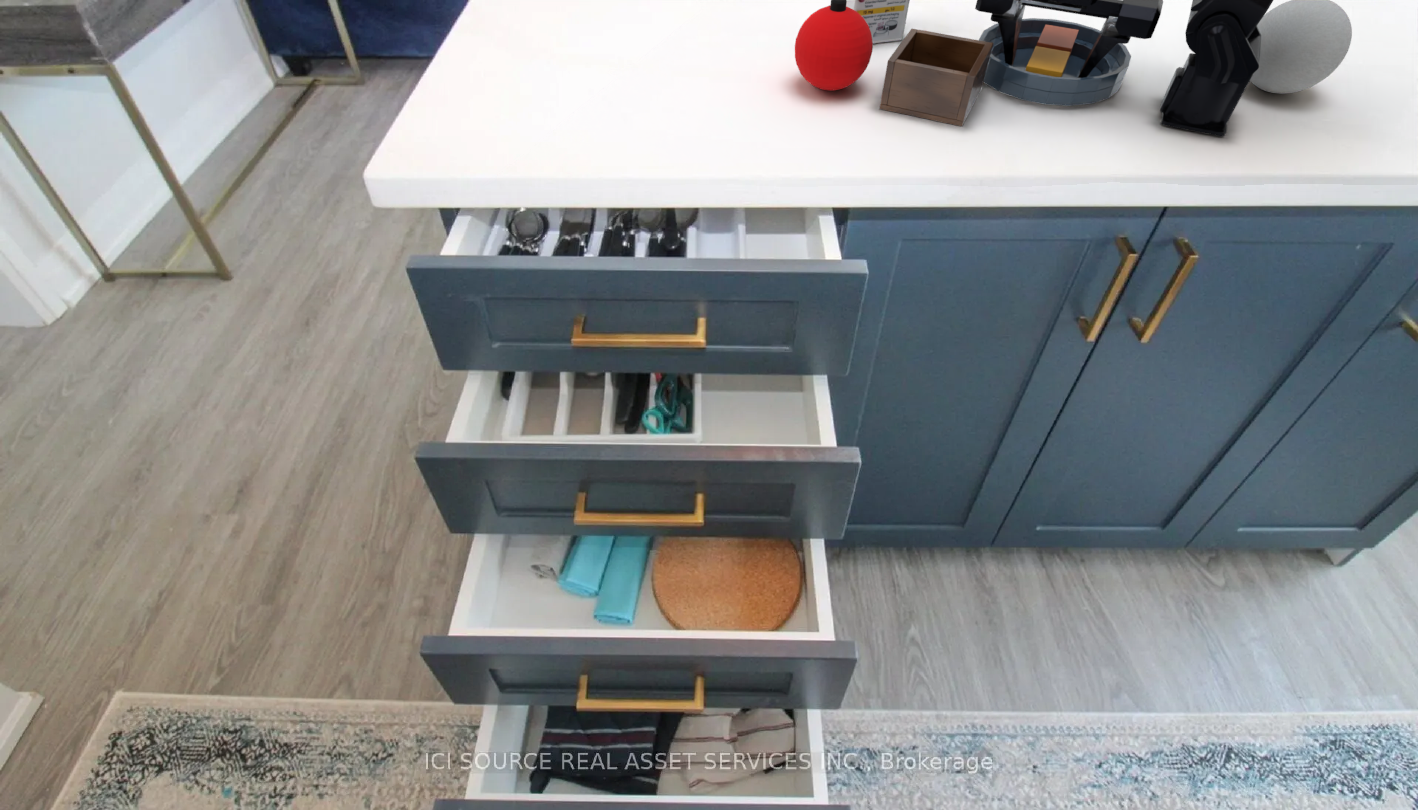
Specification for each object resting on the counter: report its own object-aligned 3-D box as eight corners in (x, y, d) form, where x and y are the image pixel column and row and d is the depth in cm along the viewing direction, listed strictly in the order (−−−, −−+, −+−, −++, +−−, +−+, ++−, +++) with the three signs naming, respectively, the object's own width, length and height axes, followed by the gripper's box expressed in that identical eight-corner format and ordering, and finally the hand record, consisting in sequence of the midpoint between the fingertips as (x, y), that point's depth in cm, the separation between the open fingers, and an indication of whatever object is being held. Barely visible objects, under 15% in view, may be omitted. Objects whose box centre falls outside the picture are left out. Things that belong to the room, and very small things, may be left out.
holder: (980, 90, 90) (993, 42, 86) (962, 126, 84) (975, 77, 80) (902, 75, 93) (911, 28, 89) (879, 109, 87) (887, 60, 83)
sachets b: (1070, 54, 95) (1078, 29, 93) (1063, 73, 92) (1071, 48, 90) (1037, 48, 97) (1045, 24, 94) (1029, 67, 93) (1037, 42, 91)
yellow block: (1061, 77, 91) (1070, 51, 89) (1053, 98, 88) (1062, 72, 85) (1028, 70, 92) (1035, 45, 90) (1018, 91, 89) (1026, 65, 87)
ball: (1241, 63, 95) (1286, -24, 87) (1329, 88, 90) (1384, -1, 83) (1211, 89, 90) (1257, 0, 82) (1302, 118, 85) (1359, 26, 78)
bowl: (1125, 61, 95) (1137, 33, 93) (1109, 122, 85) (1122, 91, 82) (988, 37, 100) (995, 9, 98) (958, 91, 90) (965, 62, 87)
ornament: (882, 90, 90) (897, 1, 83) (825, 111, 87) (836, 21, 79) (831, 63, 95) (842, -23, 88) (776, 83, 92) (782, -5, 84)
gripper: (1192, -80, 80) (1132, 67, 92) (1014, -101, 86) (978, 40, 97) (1187, -47, 73) (1122, 106, 85) (994, -73, 79) (958, 75, 91)
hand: (1042, 79), depth 90 cm, fingers open, 8 cm apart
